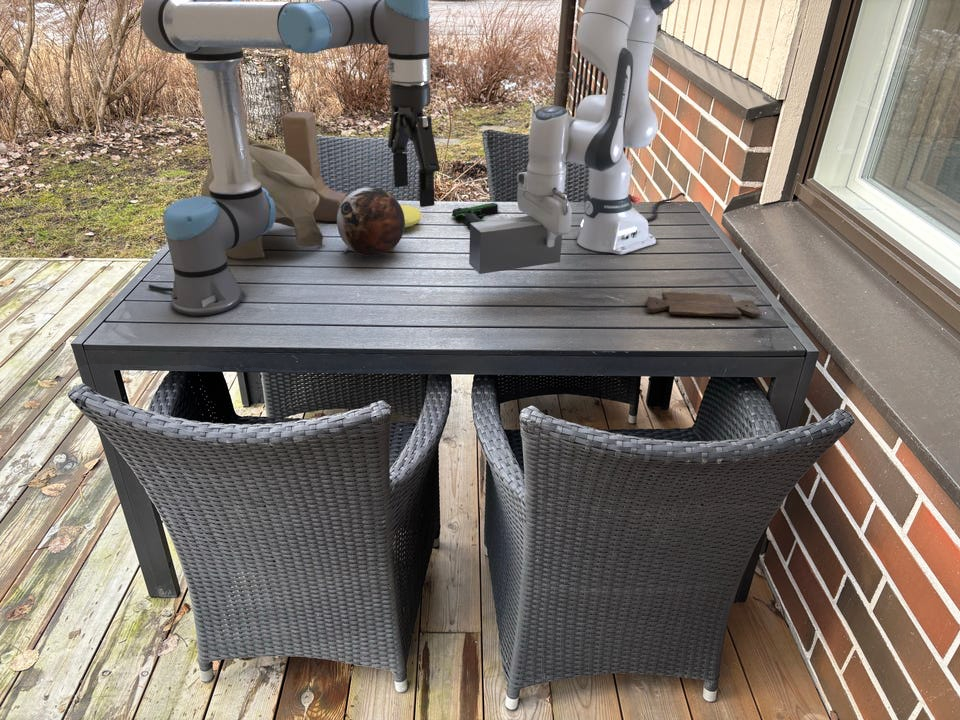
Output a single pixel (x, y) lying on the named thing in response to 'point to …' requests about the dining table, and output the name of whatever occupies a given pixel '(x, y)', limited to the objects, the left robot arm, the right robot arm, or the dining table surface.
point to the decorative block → (310, 160)
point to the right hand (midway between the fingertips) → (541, 240)
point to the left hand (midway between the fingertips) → (413, 195)
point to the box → (510, 245)
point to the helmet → (280, 197)
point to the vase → (411, 215)
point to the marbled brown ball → (370, 221)
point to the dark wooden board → (702, 305)
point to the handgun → (474, 213)
